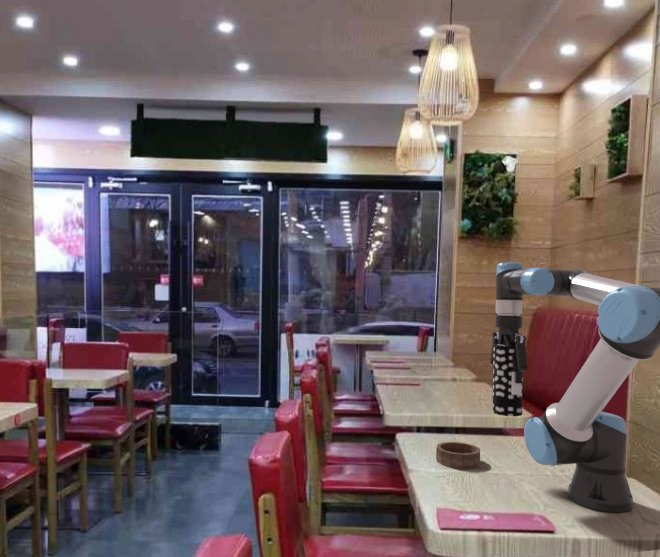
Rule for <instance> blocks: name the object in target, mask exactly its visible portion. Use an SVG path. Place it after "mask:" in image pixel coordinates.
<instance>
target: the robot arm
mask: <svg viewBox="0 0 660 557" xmlns="http://www.w3.org/2000/svg"><path fill="white" fill-rule="evenodd" d="M523 296H538V297H539V296H550V297H552V296H553V297H557V296H558V297H568V298H571V299H575V300H579V301H582V302H586V303H589V304H592V305H596V306H598V310H597V314H598V317H597V319H596V320H597V325H598V335H599V337H600V339H599V341H598V342H597V344H596V345H595V347H594V348H593V350H592V351H591V353H590V354H589V356H588V358H586V361H585V362H584V364H583V365H582V366H581V369H580V370H579V371H578V372H577V374H576V376H575V377H574V379H573V380H572V382H571V384H570V385H569V387H568V388H567V389H566V392H564V394H563V395H562V398H561V399H560V400H559V402H554V403H552V404H550V405H549V406H547V407H546V409H545V411H544V412H543V414H542V415H541V416H540V417H537V416H536V417H535V416H533V417H532V418H529V419H528V420H526V422H525V426H524V429H523V436H524V442H525V446H526V448H527V450H528V453H529V455H530V456H531V458H532V459H533V460H534V461H535V462H536V463H537V464H540V465H542V466H552V467H554V466H560V465H561V466H562V465H571V464H572V465H574V464H575V469H574V472H573V475H572V477H571V482H570V483H569V485H568V490H567V491H568V493H567V494H568V498H569V499H570V500H571V501H572V502H574V503H576V504H577V505H580V506H582V507H585V508H588V509H591V510H595V511H599V512H600V511H602V512H607V513H608V512H609V513H625V512H629V511H632V510H633V508H634V498H633V497H634V496H633V494H632V492H631V488H630V484H629V482H628V478H627V476H626V475H627V474H626V472H627V470H626V469H627V468H626V463H627V438H628V437H627V436H628V433H627V424H626V420H625V418H623V417H621V416H619V415H617V414H613V413H609V412H605V411H603V410H604V409H605V408H606V406H607V404H608V403H609V402H610V401H611V399H612V398H613V396H614V395H615V394H616V392H617V391H618V390H619V388H620V387H621V385H622V384H623V383H624V382H625V380H626V378H627V377H628V376H629V375H630V374H631V372H632V371H633V369H634V368H635V367H636V365H637V364H638V362H639V361H648V360H649V359H651V358H652V357H653V355H655V353H656V352H657V350H658V349H659V348H660V287H647V286H643V285H639V284H635V283H631V282H626V281H621V280H617V279H613V278H609V277H603V276H599V275H595V274H590V273H589V272H588V271H585V270H579V269H557V268H556V269H554V268H545V267H535V266H534V267H530V268H529V267H528V268H524V265H523V264H522V263H521V262H500V263H498V264H497V265H496V274H495V313H496V314H497V315H496V316H495V327H496V328H497V329H498V331H496V332H492V342H491V343H492V345H491V353H490V359H489V360H490V363H489V364H491V365H493V356H494V344H499V345H501V344H502V345H507V346H515V347H516V354H513V353H512V364H513V369H514V370H512V395H521V385H522V372H523V373H524V372H525V371H528V360H527V349H526V339H527V338H526V335H520V331H519V329H522V327H523V316H521V315H522V314H523Z"/></svg>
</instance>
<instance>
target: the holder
mask: <svg viewBox="0 0 660 557" xmlns="http://www.w3.org/2000/svg"><path fill="white" fill-rule="evenodd" d="M435 451H436V454H435V458H436V462H437V463H439V464H440V465H442V466H444V467H448V468H453V469H462V470H463V469H465V470H467V469H468V468H470V469H474V468H475V467H476V468H478V467H479V466H480V465H481V447H478V446H476V445H474V444H470V443H467V442H461V441H460V442H459V441H457V442H456V441H445V442H440V443H437V444H436V450H435Z"/></svg>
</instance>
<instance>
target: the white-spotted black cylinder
mask: <svg viewBox="0 0 660 557" xmlns="http://www.w3.org/2000/svg"><path fill="white" fill-rule="evenodd" d="M512 353H513V354H516V347H515V346H507V345H502V344H501V345H499V344H494V356H493V364H492V365H493V367H492V371H493V372H492V374H493V375H492V413H493V414H494V415H495V414H496V415H498V416H503V417H520V416H522V415H523V388H524V387H523V385H524V381H523V380H524V375H523V374H524V371H523V372H522V385H521V395H512V370H514V369H513V364H512Z"/></svg>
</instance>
